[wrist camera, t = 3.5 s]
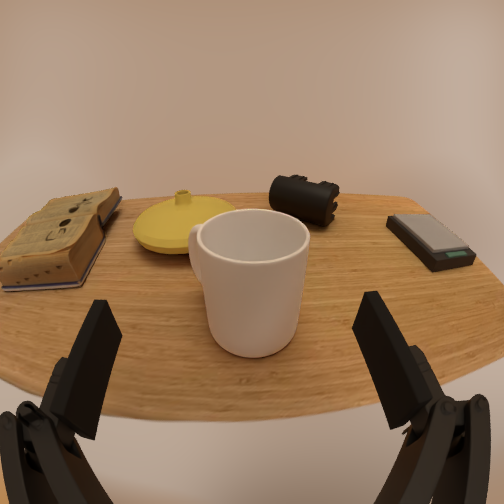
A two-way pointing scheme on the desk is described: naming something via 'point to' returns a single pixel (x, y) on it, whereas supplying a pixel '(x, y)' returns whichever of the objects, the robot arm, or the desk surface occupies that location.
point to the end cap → (304, 199)
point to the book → (58, 242)
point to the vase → (176, 221)
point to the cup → (251, 278)
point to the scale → (431, 241)
